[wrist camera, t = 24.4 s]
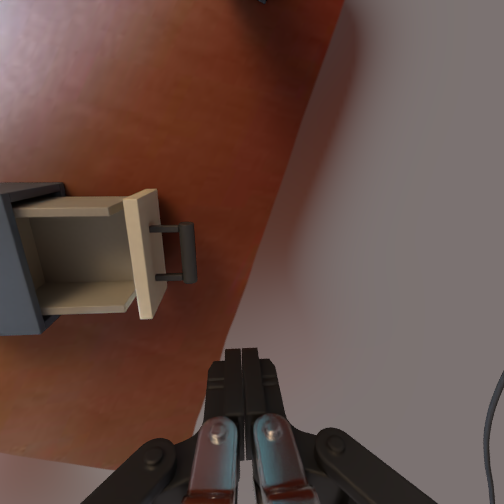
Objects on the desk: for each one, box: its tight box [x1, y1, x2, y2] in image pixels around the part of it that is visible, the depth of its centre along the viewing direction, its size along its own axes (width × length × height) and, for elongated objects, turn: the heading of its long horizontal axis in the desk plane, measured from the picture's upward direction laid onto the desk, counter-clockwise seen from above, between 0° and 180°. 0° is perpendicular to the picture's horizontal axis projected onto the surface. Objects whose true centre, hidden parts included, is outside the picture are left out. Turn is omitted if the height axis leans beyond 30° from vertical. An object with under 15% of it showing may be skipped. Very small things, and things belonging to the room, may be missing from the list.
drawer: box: [11, 189, 197, 319], centre depth 28 cm, size 18×11×7 cm, turn 90°
